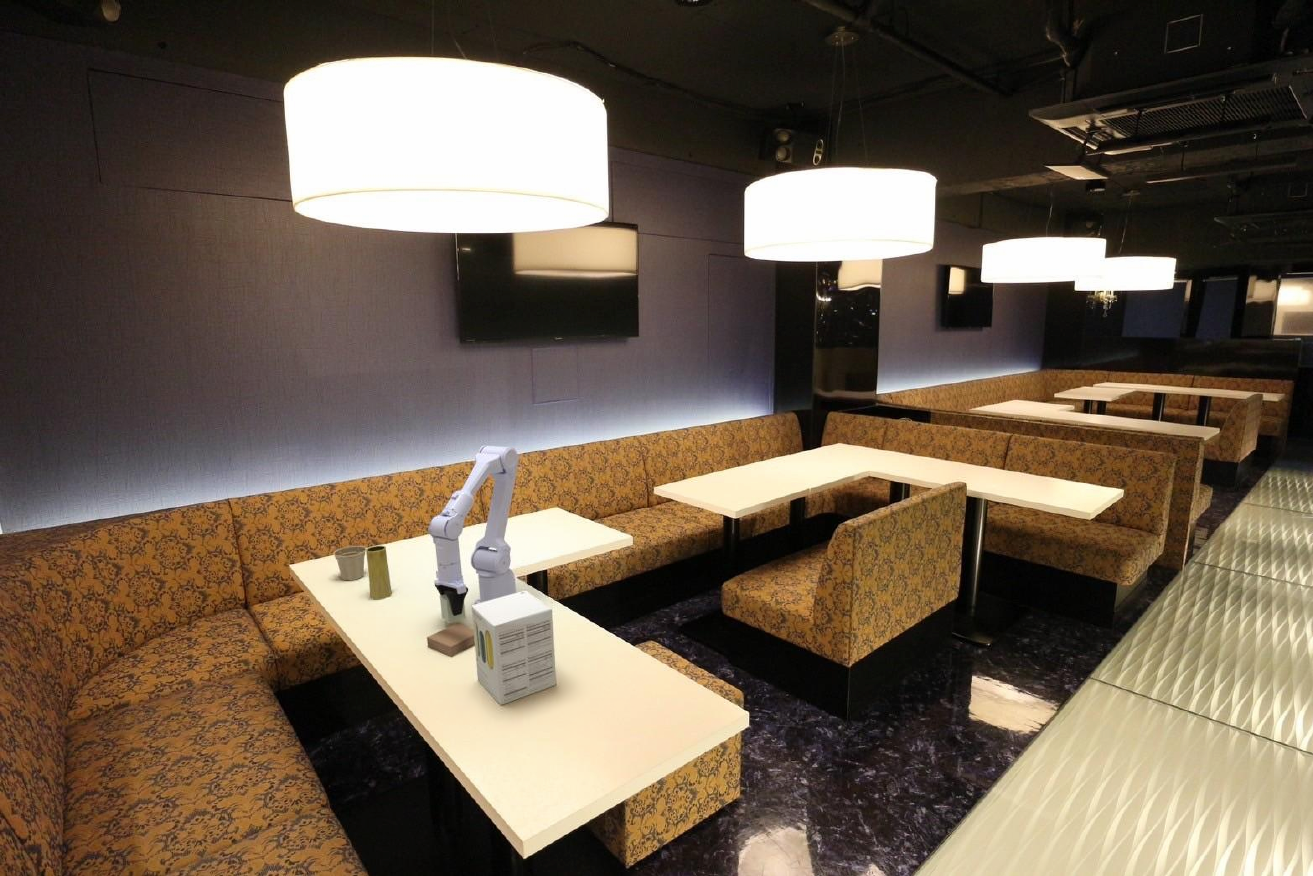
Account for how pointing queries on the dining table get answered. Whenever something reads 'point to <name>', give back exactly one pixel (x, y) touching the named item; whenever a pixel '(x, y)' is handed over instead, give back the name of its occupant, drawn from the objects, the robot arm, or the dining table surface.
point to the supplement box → (514, 646)
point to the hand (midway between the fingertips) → (453, 611)
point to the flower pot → (351, 562)
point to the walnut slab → (452, 640)
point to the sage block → (449, 610)
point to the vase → (378, 572)
